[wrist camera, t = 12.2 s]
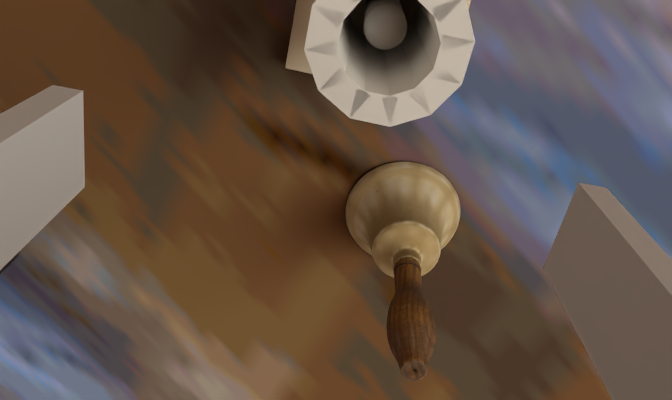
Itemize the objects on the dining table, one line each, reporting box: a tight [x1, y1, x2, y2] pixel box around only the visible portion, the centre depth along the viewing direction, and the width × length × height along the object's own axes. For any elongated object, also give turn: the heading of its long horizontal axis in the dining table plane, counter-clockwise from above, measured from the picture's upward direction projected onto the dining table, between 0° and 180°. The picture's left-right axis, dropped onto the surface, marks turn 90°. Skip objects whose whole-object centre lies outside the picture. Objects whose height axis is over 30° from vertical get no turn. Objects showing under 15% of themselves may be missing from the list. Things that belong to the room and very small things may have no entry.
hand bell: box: [345, 162, 460, 381], centre depth 34 cm, size 8×8×16 cm
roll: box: [304, 0, 475, 127], centre depth 28 cm, size 7×7×12 cm
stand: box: [285, 0, 471, 74], centre depth 30 cm, size 10×10×10 cm
